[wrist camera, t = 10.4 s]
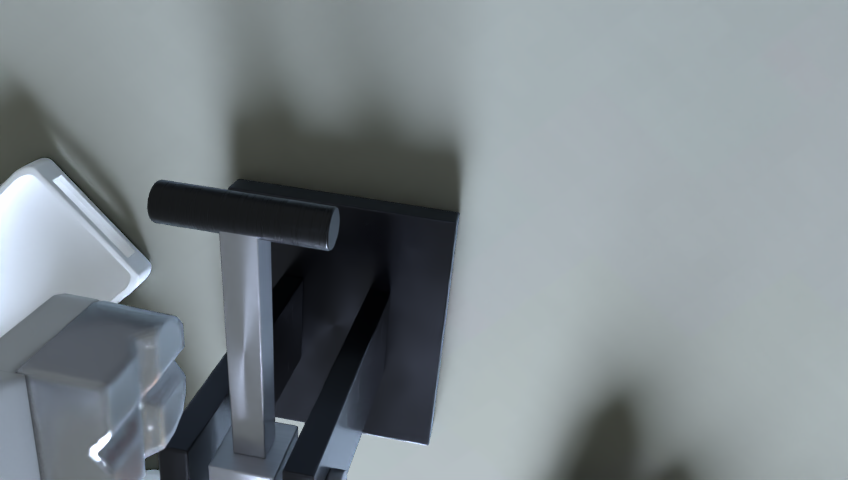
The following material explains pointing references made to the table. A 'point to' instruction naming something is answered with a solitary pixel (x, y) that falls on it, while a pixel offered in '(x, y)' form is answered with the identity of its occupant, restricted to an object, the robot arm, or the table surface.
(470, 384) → the table surface
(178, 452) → the black lever stand
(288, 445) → the tap lever
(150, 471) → the geometric ball
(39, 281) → the phone case
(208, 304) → the table surface
